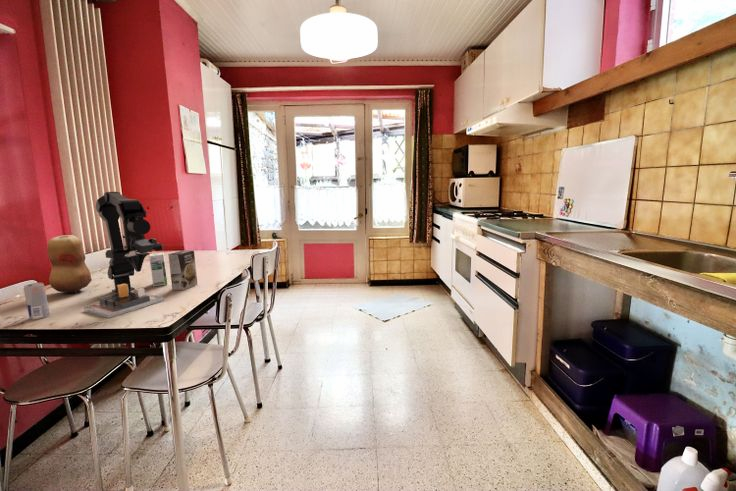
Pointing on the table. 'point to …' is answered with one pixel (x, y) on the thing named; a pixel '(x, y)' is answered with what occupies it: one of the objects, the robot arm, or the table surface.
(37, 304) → the white carton
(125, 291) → the orange rectangular block
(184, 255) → the coffee box
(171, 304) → the table surface
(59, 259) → the butternut squash
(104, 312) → the panel
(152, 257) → the syrup box
